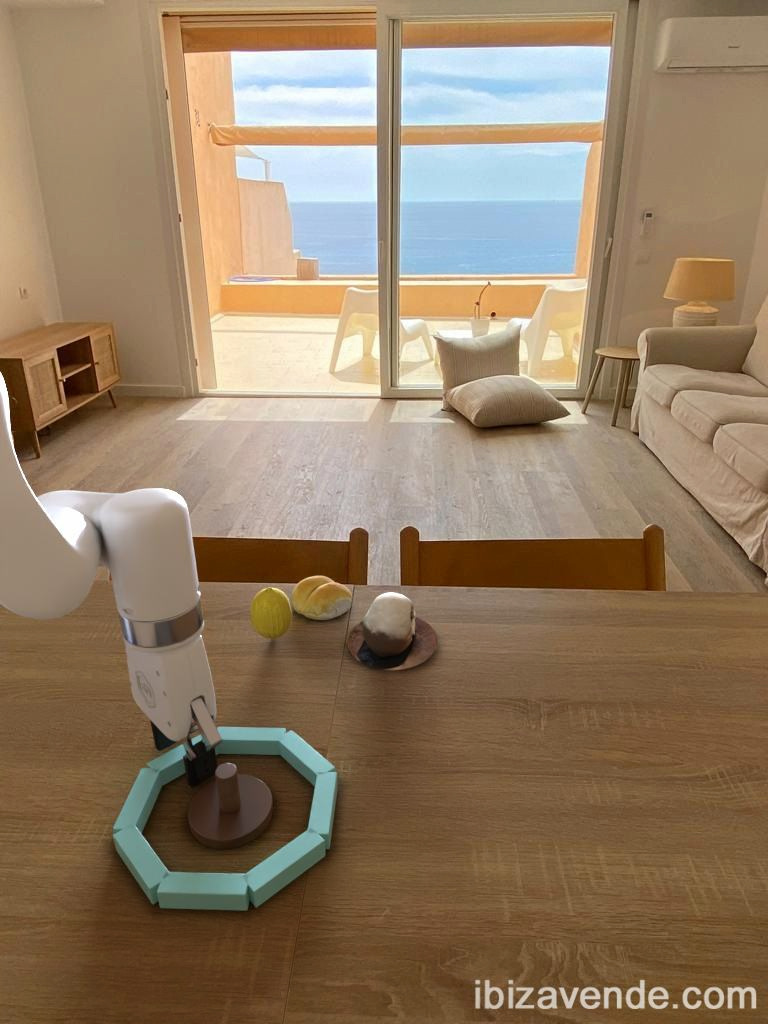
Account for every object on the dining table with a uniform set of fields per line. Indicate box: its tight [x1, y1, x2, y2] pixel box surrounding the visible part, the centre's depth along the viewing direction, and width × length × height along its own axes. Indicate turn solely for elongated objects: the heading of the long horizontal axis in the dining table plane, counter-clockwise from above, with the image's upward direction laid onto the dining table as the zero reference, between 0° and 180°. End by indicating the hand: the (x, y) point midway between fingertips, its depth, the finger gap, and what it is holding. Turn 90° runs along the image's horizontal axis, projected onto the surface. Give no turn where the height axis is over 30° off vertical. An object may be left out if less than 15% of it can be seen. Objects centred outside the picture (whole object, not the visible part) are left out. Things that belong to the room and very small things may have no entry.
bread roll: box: [290, 575, 353, 621], centre depth 101 cm, size 8×9×4 cm
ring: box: [112, 726, 339, 912], centre depth 67 cm, size 20×20×2 cm
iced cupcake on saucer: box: [347, 591, 438, 671], centre depth 93 cm, size 12×10×10 cm
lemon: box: [249, 586, 293, 640], centre depth 93 cm, size 6×6×8 cm
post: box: [187, 762, 274, 850], centre depth 66 cm, size 8×8×6 cm
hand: (186, 759), depth 73 cm, fingers open, 6 cm apart
